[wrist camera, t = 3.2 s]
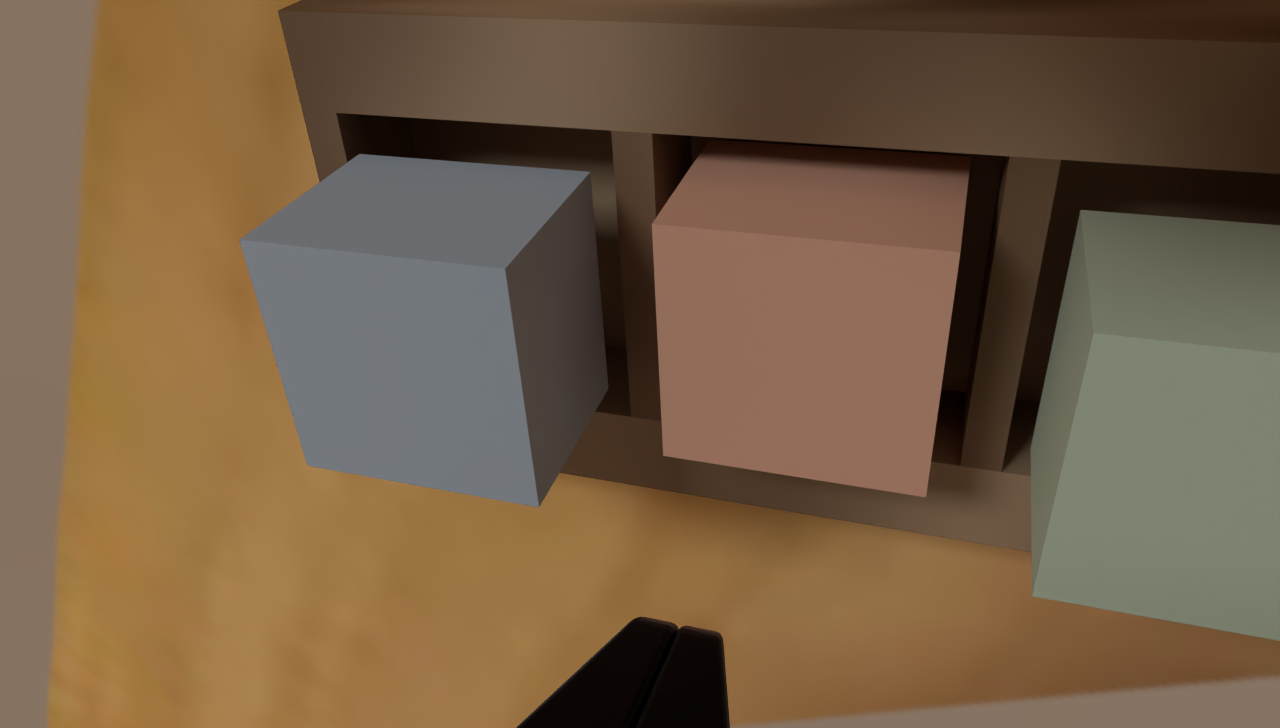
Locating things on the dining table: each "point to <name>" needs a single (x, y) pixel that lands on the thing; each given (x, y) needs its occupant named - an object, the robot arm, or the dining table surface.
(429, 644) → the dining table surface
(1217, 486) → the button sage
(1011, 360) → the brown wooden compartment tray
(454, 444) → the button slate
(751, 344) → the button terracotta
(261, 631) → the dining table surface
